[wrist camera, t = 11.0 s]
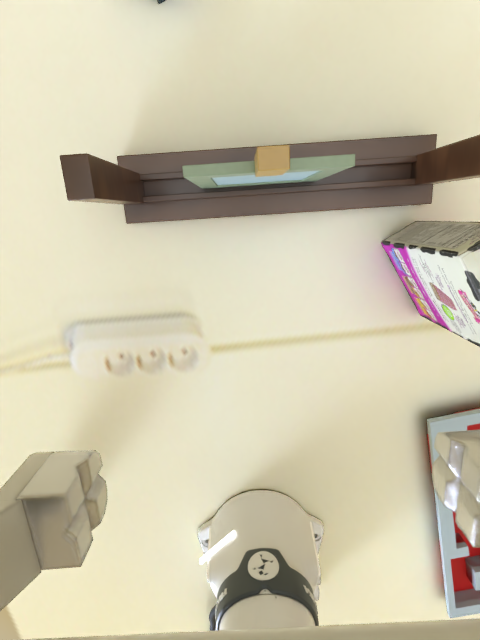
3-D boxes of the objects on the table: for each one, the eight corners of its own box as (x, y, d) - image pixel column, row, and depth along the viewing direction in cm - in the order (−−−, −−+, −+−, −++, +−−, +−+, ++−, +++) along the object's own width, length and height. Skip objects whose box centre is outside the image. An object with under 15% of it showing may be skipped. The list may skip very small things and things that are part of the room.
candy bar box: (456, 294, 46) (570, 338, 30) (419, 316, 47) (512, 369, 31) (416, 216, 43) (519, 219, 27) (378, 241, 44) (456, 257, 28)
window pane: (316, 184, 40) (374, 163, 23) (202, 192, 40) (174, 176, 23) (316, 170, 40) (375, 138, 22) (201, 178, 40) (171, 152, 23)
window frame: (422, 204, 43) (536, 199, 26) (131, 223, 43) (66, 229, 27) (427, 137, 41) (553, 88, 24) (122, 158, 41) (45, 123, 25)
